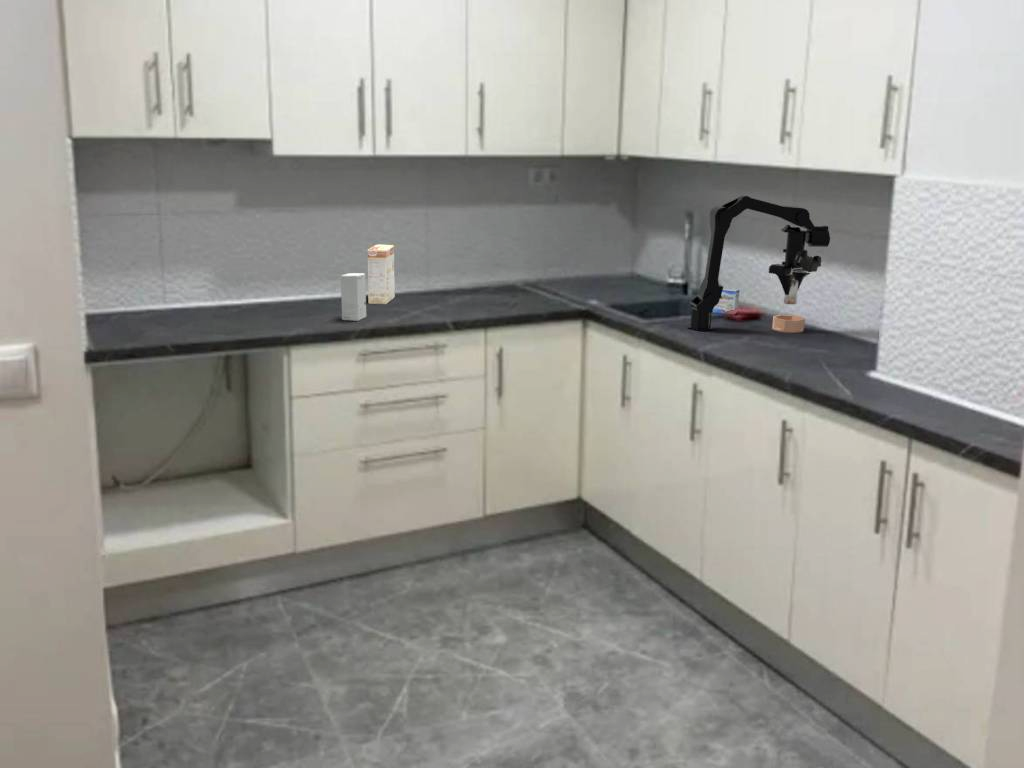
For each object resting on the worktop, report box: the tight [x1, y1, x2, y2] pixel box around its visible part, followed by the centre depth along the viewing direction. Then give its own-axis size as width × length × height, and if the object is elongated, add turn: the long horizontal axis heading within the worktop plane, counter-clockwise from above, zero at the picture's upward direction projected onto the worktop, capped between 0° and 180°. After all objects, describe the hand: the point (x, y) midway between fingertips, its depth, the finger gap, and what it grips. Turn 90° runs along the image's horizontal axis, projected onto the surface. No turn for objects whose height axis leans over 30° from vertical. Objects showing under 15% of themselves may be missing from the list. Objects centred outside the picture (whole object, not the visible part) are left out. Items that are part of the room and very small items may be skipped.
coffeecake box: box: [367, 243, 396, 305], centre depth 376 cm, size 15×7×20 cm, turn 175°
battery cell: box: [783, 278, 799, 305], centre depth 339 cm, size 4×4×8 cm
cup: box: [771, 314, 806, 334], centre depth 342 cm, size 10×10×4 cm
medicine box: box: [712, 288, 740, 315], centre depth 368 cm, size 8×4×9 cm, turn 62°
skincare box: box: [340, 272, 367, 322], centre depth 342 cm, size 8×6×15 cm
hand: (790, 294), depth 340 cm, fingers closed on battery cell, 4 cm apart
